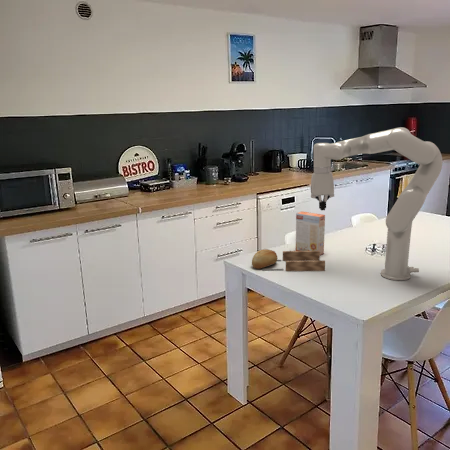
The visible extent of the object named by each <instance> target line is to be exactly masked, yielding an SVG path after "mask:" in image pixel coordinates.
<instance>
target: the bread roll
mask: <svg viewBox="0 0 450 450" xmlns="http://www.w3.org/2000/svg"><path fill="white" fill-rule="evenodd" d="M277 260H279V259H278V255H277V253H276V251H275V250H272V249H266V248H264V249H260V250H257V251H256V252H255V253H254V255H253V257H252V258H251V266H252V267H253V269H256V270H260V269H265V268H266V267H269V266H271V265H275V264H276V263H277V262H278V261H277Z"/></svg>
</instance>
